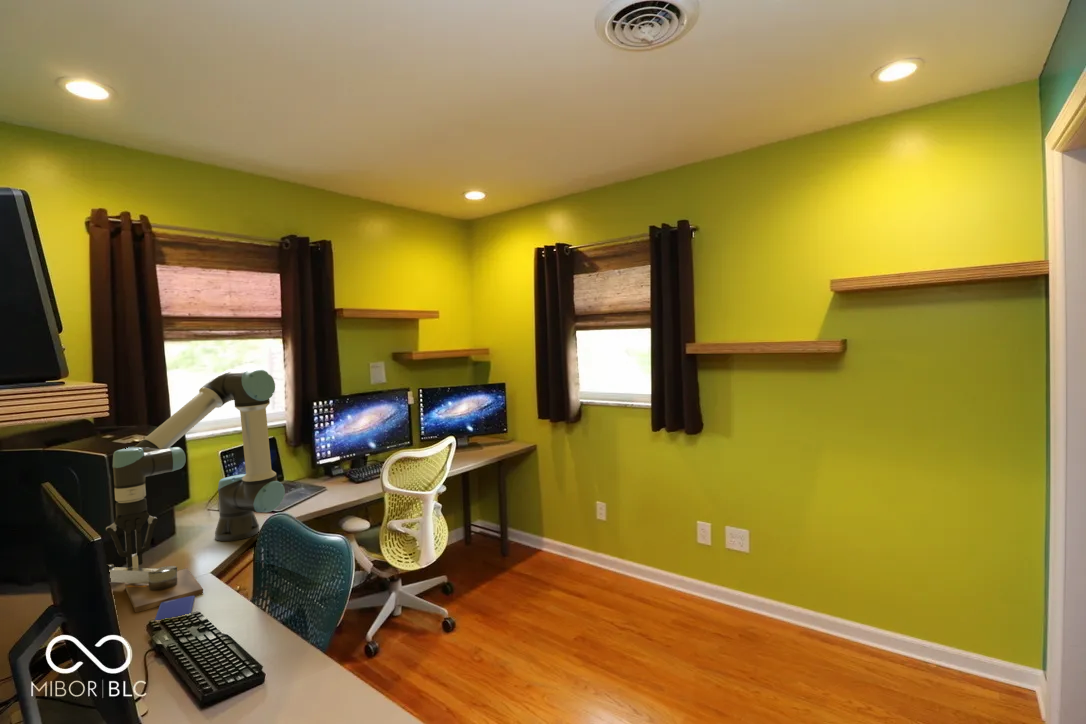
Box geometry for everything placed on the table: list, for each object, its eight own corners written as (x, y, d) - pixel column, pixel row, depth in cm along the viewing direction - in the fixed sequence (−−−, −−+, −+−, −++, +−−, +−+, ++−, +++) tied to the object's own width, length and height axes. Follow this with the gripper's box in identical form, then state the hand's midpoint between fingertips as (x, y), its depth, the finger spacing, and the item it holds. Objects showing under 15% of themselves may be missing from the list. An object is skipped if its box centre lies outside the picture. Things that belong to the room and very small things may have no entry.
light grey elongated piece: (183, 580, 165) (182, 563, 165) (164, 590, 158) (163, 572, 158) (115, 577, 169) (115, 561, 169) (94, 587, 162) (93, 570, 162)
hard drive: (160, 602, 153) (153, 620, 142) (195, 595, 157) (191, 612, 146) (160, 607, 153) (154, 626, 142) (195, 600, 157) (191, 618, 146)
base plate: (187, 572, 176) (187, 567, 176) (203, 593, 160) (203, 588, 160) (125, 588, 165) (124, 583, 165) (135, 612, 149) (135, 606, 149)
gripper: (105, 506, 159) (110, 586, 159) (158, 497, 168) (163, 573, 168) (102, 502, 164) (107, 579, 165) (154, 492, 173) (158, 566, 174)
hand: (135, 576), depth 167 cm, fingers closed
